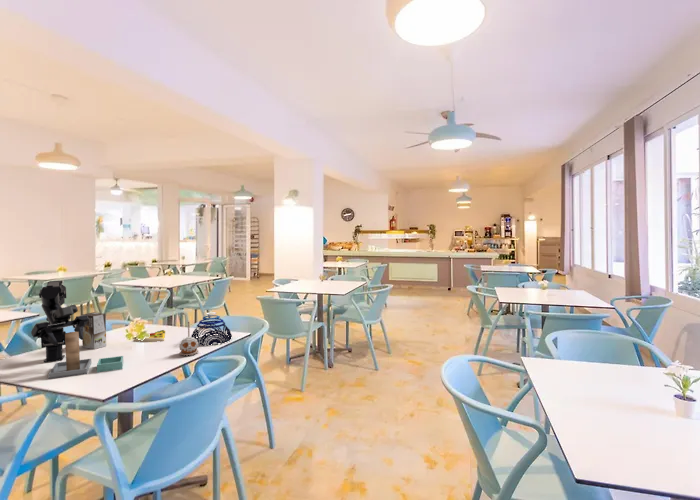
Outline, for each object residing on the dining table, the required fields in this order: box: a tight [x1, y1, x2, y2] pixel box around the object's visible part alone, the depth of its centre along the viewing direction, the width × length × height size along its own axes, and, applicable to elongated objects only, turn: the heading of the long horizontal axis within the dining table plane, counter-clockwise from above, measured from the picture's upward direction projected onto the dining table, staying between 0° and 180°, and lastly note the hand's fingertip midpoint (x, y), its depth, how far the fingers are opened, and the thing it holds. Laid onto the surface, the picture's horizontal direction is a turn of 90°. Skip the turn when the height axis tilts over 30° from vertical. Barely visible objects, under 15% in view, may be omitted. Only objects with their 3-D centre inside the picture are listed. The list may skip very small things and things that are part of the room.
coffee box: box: [81, 311, 107, 350], centre depth 186 cm, size 9×6×16 cm
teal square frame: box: [96, 355, 124, 373], centre depth 158 cm, size 9×9×3 cm
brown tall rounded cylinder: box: [64, 331, 81, 371], centre depth 152 cm, size 4×4×15 cm
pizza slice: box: [133, 329, 166, 343], centre depth 205 cm, size 16×21×3 cm
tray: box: [47, 358, 93, 380], centre depth 154 cm, size 14×12×2 cm
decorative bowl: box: [190, 311, 233, 346], centre depth 198 cm, size 20×20×14 cm
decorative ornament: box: [179, 321, 199, 357], centre depth 175 cm, size 8×8×15 cm
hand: (69, 342), depth 153 cm, fingers open, 9 cm apart
